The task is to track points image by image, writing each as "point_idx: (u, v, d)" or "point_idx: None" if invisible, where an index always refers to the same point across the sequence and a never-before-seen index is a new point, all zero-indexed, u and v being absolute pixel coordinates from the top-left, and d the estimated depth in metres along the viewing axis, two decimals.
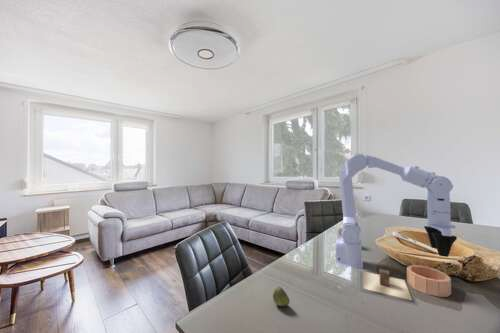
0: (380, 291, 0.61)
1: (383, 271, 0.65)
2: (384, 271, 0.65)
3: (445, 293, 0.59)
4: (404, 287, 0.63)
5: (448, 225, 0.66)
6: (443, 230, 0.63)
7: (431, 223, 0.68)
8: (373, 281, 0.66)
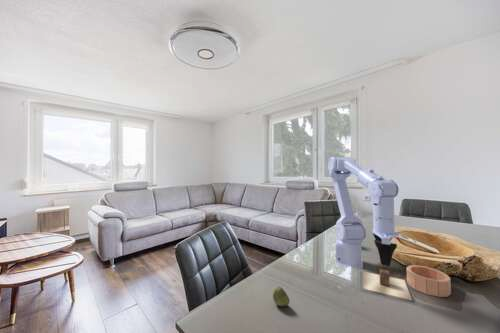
0: (380, 291, 0.61)
1: (383, 271, 0.65)
2: (384, 271, 0.65)
3: (445, 293, 0.59)
4: (404, 287, 0.63)
5: (391, 232, 0.62)
6: (382, 238, 0.59)
7: (375, 230, 0.65)
8: (373, 281, 0.66)
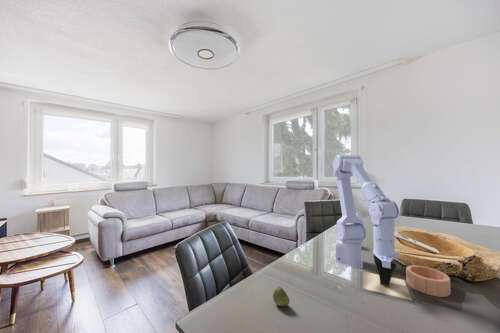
0: (380, 291, 0.61)
1: None
2: None
3: (444, 293, 0.59)
4: (404, 287, 0.63)
5: (391, 254, 0.62)
6: (383, 261, 0.59)
7: (375, 251, 0.65)
8: (373, 281, 0.66)
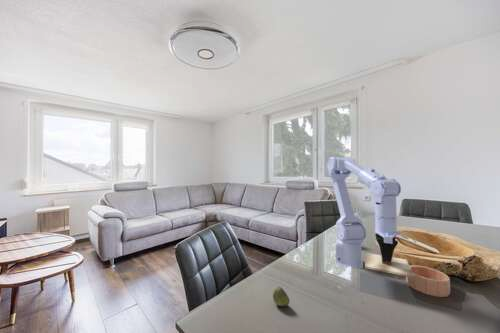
0: (382, 268, 0.61)
1: None
2: None
3: (444, 293, 0.59)
4: (406, 265, 0.63)
5: (393, 231, 0.62)
6: (385, 237, 0.59)
7: (377, 229, 0.65)
8: (375, 260, 0.66)
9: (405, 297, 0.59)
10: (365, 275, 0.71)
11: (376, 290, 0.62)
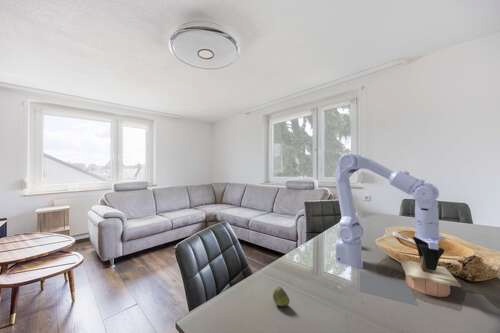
0: (425, 277, 0.60)
1: None
2: None
3: (444, 293, 0.59)
4: (448, 273, 0.62)
5: (436, 237, 0.62)
6: (430, 243, 0.59)
7: (418, 234, 0.64)
8: (414, 268, 0.66)
9: (405, 297, 0.59)
10: (365, 275, 0.71)
11: (376, 290, 0.62)
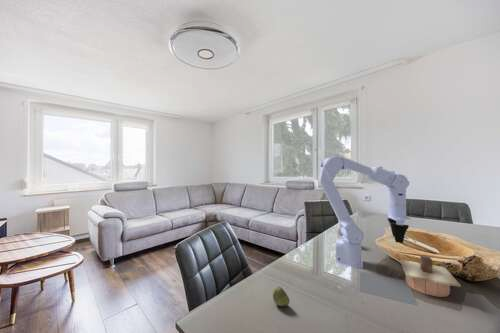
0: (425, 277, 0.60)
1: (425, 258, 0.64)
2: (426, 258, 0.64)
3: (444, 293, 0.59)
4: (447, 273, 0.62)
5: (403, 216, 0.77)
6: (397, 220, 0.74)
7: (390, 215, 0.79)
8: (414, 268, 0.66)
9: (405, 297, 0.59)
10: (365, 275, 0.71)
11: (376, 290, 0.62)
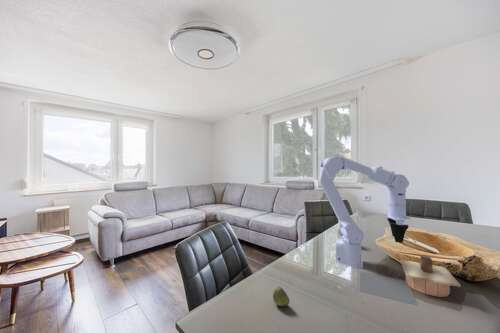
0: (425, 277, 0.60)
1: (425, 258, 0.64)
2: (426, 258, 0.64)
3: (444, 293, 0.59)
4: (447, 273, 0.62)
5: (403, 216, 0.77)
6: (397, 220, 0.74)
7: (390, 215, 0.79)
8: (414, 268, 0.66)
9: (405, 297, 0.59)
10: (365, 275, 0.71)
11: (376, 290, 0.62)
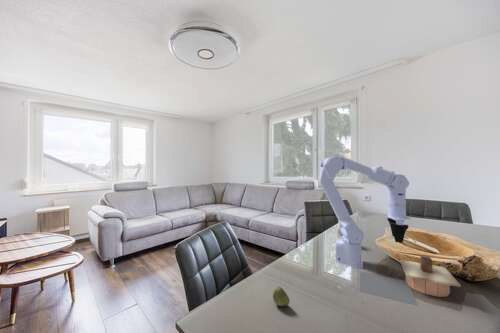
0: (425, 277, 0.60)
1: (425, 258, 0.64)
2: (426, 258, 0.64)
3: (444, 293, 0.59)
4: (447, 273, 0.62)
5: (403, 216, 0.77)
6: (397, 220, 0.74)
7: (390, 215, 0.79)
8: (414, 268, 0.66)
9: (405, 297, 0.59)
10: (365, 275, 0.71)
11: (376, 290, 0.62)
